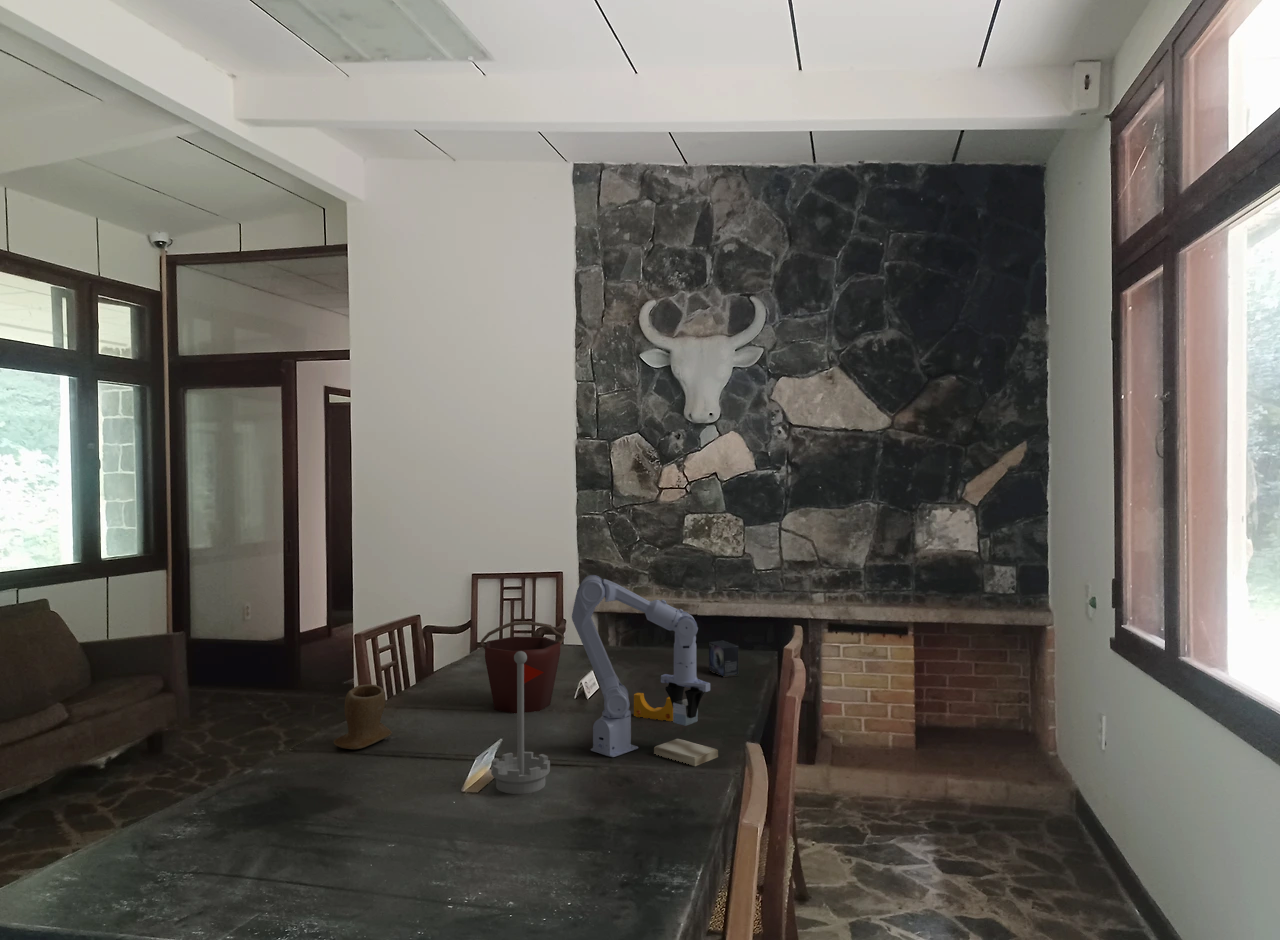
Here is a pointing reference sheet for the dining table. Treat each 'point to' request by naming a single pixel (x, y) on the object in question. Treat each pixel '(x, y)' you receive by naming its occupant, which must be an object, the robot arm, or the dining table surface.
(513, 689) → the bucket
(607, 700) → the robot arm
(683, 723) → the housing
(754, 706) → the dining table surface
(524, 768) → the flag stand
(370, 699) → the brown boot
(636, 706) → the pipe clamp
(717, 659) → the small box
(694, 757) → the cream flat block
